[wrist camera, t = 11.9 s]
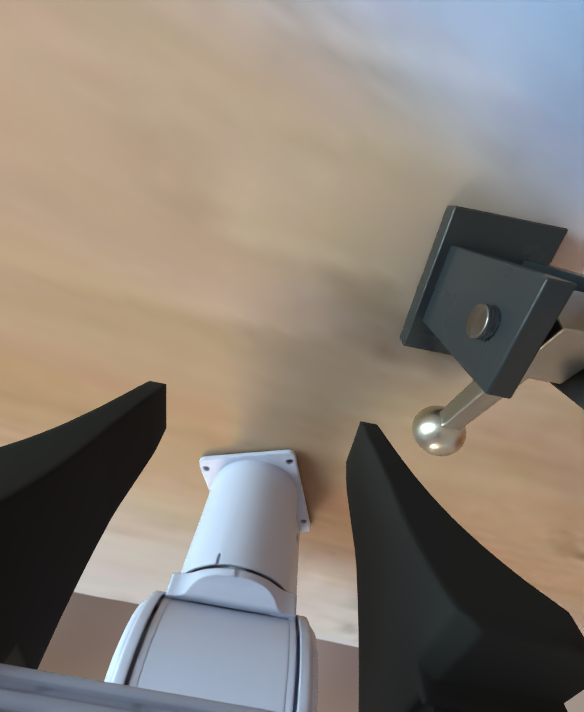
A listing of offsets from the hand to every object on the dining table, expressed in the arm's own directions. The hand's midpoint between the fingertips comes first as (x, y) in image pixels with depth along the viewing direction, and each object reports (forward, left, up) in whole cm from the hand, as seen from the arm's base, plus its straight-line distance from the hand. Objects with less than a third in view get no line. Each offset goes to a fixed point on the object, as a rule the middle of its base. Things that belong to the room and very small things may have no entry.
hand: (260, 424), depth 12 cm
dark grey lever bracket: (+1, -11, -10) cm, 16 cm away
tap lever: (-2, -10, -6) cm, 12 cm away
